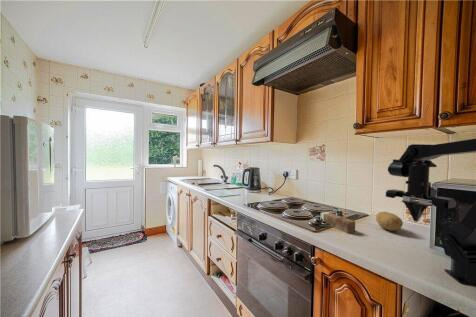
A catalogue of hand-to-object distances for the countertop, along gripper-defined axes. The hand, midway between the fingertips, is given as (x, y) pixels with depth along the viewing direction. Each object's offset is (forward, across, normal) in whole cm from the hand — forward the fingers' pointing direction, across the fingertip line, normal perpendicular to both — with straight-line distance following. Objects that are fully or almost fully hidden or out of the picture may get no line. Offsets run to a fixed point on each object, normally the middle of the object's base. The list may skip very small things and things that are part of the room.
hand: (416, 221), depth 74 cm
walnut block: (+10, +22, +5) cm, 25 cm away
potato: (+12, +19, -18) cm, 29 cm away
